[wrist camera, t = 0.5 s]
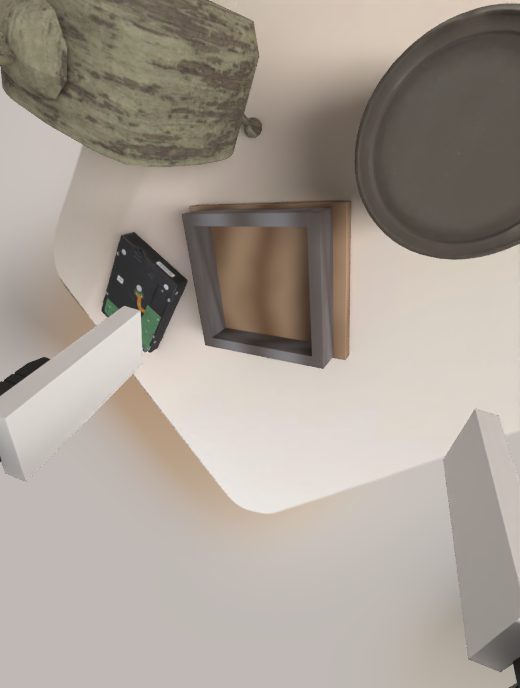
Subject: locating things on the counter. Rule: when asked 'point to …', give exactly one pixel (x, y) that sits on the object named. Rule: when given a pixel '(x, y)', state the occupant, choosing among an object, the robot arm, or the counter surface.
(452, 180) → the coffee can
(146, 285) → the disk drive
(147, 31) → the tabletop clock
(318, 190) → the counter surface
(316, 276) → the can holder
